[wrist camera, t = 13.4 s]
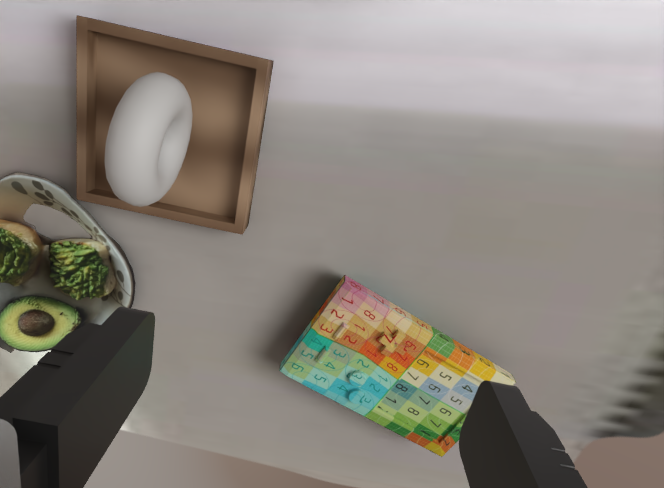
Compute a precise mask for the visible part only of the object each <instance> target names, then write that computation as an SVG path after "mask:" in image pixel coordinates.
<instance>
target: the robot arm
mask: <svg viewBox="0 0 664 488" xmlns="http://www.w3.org/2000/svg"><path fill="white" fill-rule="evenodd" d="M154 327H155V316H154V313H152V312H147V311H142V310H137V309H132V308H127V307H122V306H121V307H118V308H117V309H116V310H115V311H114V312H113V313H112V314H111V315H110V316H109V317H108V318H107V319H106V320H105V321H104V322H103V323H102V325H99V324H94V323H89V324H87V325H85V326H83V327H80V328H78V329H76V330H74V331H72V332H70V333H68V334H67V335H66V336H65V337H64V338H62V339H61V340H60V341H59V342H58V343H57V344H56V345H55V346H54V347H53V348H52V349H51V352H48V353H47V354H46V355H45V356H44V357H42V358H41V359H40V360H39V361H38V364H37V365H34V366H33V367H32V368H31V369H30V370H29V371H28V372H27V373H26V374H25V375H23V376H22V377H21V378H20V379H19V380H18V381H17V382H16V383H15V384H14V385H13V386H12V387H11V388H10V389H9V390H8V391H7V392H6V393H5V394H3V395H2V396H1V397H0V488H83V487H84V485H85V484H86V482H87V481H88V479H89V477H90V476H91V474H92V472H93V471H94V469H95V468H96V466H97V465H98V463H99V461H100V460H101V458H102V457H103V455H104V454H105V452H106V450H107V448H108V447H109V445H110V444H111V442H112V441H113V439H114V438H115V436H116V434H117V433H118V431H119V430H120V428H121V426H122V425H123V423H124V422H125V420H126V419H127V417H128V415H129V414H130V412H131V411H132V409H133V407H134V406H135V404H136V403H137V401H138V399H139V398H140V396H141V395H142V393H143V391H144V389H145V387H146V385H147V382H148V379H149V376H150V372H151V366H152V353H153V340H154ZM459 450H460V455H461V459H462V462H463V465H464V469H465V472H466V476H467V479H468V482H469V486H470V488H587V486H586V484H585V483H584V481H583V479H582V477H581V476H580V474H579V472H578V471H577V470H575V468H574V467H575V466H574V464H573V462H572V460H571V458H570V457H569V455H568V454H567V453H565V448H564V446H563V445H562V443H561V441H560V439H559V438H558V436H557V434H556V433H555V431H554V430H553V429H552V427H551V426H550V425H549V424H548V423H547V422H546V421H545V420H544V419H543V418H542V417H541V416H540V415H539V414H538V413H537V412H534V411H531V410H530V408H529V406H528V404H527V403H526V401H525V399H524V397H523V395H522V393H521V392H520V390H519V389H518V388H517V387H516V386H512V385H507V384H502V383H497V382H492V381H487V380H485V381H483V382H482V383H481V384H480V385H479V387H478V390H477V392H476V394H475V397H474V399H473V401H472V404H471V406H470V408H469V411H468V413H467V415H466V418H465V420H464V423H463V425H462V428H461V431H460V437H459Z"/></svg>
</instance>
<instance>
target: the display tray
mask: <svg viewBox="0 0 664 488" xmlns="http://www.w3.org/2000/svg"><path fill="white" fill-rule="evenodd" d="M272 68H273V61H272V60H268V59H263V58H259V57H255V56H251V55H246V54H242V53H238V52H233V51H229V50H225V49H221V48H216V47H212V46H208V45H203V44H199V43H195V42H191V41H186V40H182V39H178V38H173V37H169V36H165V35H161V34H156V33H152V32H148V31H143V30H139V29H135V28H131V27H126V26H122V25H118V24H113V23H109V22H105V21H101V20H96V19H92V18H87V17H82V16H77V200H82V201H86V202H91V203H96V204H101V205H105V206H110V207H115V208H120V209H124V210H129V211H134V212H138V213H143V214H148V215H153V216H157V217H162V218H167V219H171V220H176V221H181V222H186V223H190V224H195V225H200V226H205V227H209V228H214V229H219V230H223V231H228V232H233V233H238V234H243V233H244V231H245V229H246V228H247V226H248V223H249V216H250V210H251V203H252V197H253V190H254V184H255V178H256V171H257V165H258V158H259V152H260V145H261V139H262V132H263V126H264V119H265V113H266V106H267V100H268V93H269V87H270V81H271V74H272ZM155 72H160V73H165V74H168V75H170V76H172V77H174V78H176V79H178V80H179V81H180V82H181V83H182V84H183V85H184V86H185V88H186V90H187V92H188V94H189V97H190V99H191V105H192V129H191V134H190V140H189V144H188V148H187V152H186V155H185V158H184V161H183V164H182V167H181V169H180V171H179V173H178V176H177V178H176V180H175V182H174V183H173V185H172V186H171V188H170V190H169V191H168V192H167V193H166V194H165V195H164V196H163V197H162V198H161V199H160V200H159V201H157V202H155V203H153V204H150V205H148V206H141V207H139V206H133V205H131V204H129V203H127V202H125V201H123V200H121V199H119V198H118V197H117V196H116V195H115V194H114V192H113V190H112V188H111V186H110V184H109V182H108V180H107V178H106V170H105V147H106V139H107V135H108V130H109V126H110V123H111V120H112V118H113V115H114V112H115V110H116V107H117V106H118V104H119V102H120V100H121V99H122V97H123V95H124V93H125V92H126V90H127V89H128V88H129V87H130V86H131V85H132V84H133V83H134V82H135V81H136V80H137V79H139V78H140V77H142V76H145V75H147V74H150V73H155Z"/></svg>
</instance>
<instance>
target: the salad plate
mask: <svg viewBox="0 0 664 488" xmlns="http://www.w3.org/2000/svg"><path fill="white" fill-rule="evenodd" d="M33 203H35V204H40V205H45V206H49V207H52V208H53V209H56V210H59V211H61V212H63V213H65V214H66V215H68V216H70V217H71V218H72V219H74V220H75V221H77V222H78V223H79V224H80V225H81V226H82V227H83V228H84V229H85V230H86V231H87V232H88V233H89V234H90V235H91V237H92V239H84V238H82V239H64V240H51V239H49V238H47V237H45V236H43V235H41V234H39V233H38V232H37V231H36V229H35V226H33V225H31V224H29V223H27V222H25V221H24V219H23V216H24V214H25V212H26V210H27V209H28V208H29V207H30V206H31V205H32V204H33ZM134 293H135V280H134V273H133V270H132V267H131V265H130V264H129V261H128V259H127V257H126V255H125V253H124V251H123V250H122V248H121V247H120V246H119V244H118V243H117V242H116V241H115V240H113V239H112V238H110V237H109V236H108V235H107V234H106V233H105V231H104V230H103V229H102V228H101V227H100V226H99V224H98V223H97V222H96V221H95V219H94V218H93V217H92V216H91V214H90V213H89V212H88V211H87V210H86V209H85V208H83V207H82V206H81V205H80V204H79V203H78V202H77V201H75V200H74V199H73V198H72V197H71V196H70V195H69V193H68V192H67V191H66V190H65V189H64V188H62V187H61V186H59V185H57V184H55V183H53V182H51V181H49V180H47V179H46V178H43V177H38V176H35V175H29V174H25V173H19V172H16V173H13V174H10V175H7V176H5V177H4V178H3V179H1V180H0V347H1V348H2V349H5V350H7V351H8V352H10V353H11V352H12V351H14V349H17V350H19V351H28V352H41V351H47V350H51V349H52V348H53V347H54V346H55V345H56V344H57V343H58V342H59V341H60V340H61V339H62V338H64V337H65V336H66V335H67V334H68V333H70V332H72V331H74V330H76V329H78V328H80V327H83V326H85V325H87V324H89V323H94V324H99V325H102V323H103V322H104V321H105V320H106V319H107V318H108V317H109V316H110V315H111V314H112V313H113V312H114V311H115V310H116V309H117V308H118V307H121V306H122V307H127V308H131V307H132V304H133V301H134Z"/></svg>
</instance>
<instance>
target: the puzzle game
mask: <svg viewBox="0 0 664 488" xmlns="http://www.w3.org/2000/svg"><path fill="white" fill-rule="evenodd" d="M279 371H281V372H282V373H283V374H285V375H286V376H288V377H290V378H292V379H293V380H295V381H297V382H299V383H301V384H303V385H305V386H307V387H309V388H311V389H313V390H315V391H316V392H318V393H320V394H322V395H324V396H326V397H328V398H330V399H332V400H334V401H336V402H338V403H340V404H341V405H343V406H345V407H347V408H349V409H351V410H353V411H355V412H357V413H359V414H361V415H363V416H364V417H366V418H368V419H370V420H372V421H374V422H376V423H378V424H380V425H382V426H384V427H386V428H387V429H389V430H391V431H393V432H395V433H397V434H399V435H401V436H403V437H405V438H407V439H409V440H411V441H412V442H414V443H416V444H418V445H420V446H422V447H424V448H426V449H428V450H430V451H432V452H434V453H435V454H437V455H439V456H441V457H442V456H443V455H444V454H445V453H446V452H447V451H448V450H449V449H450V448H451V447H452V446H453V445H454V444H455V443H456V442H457V441H458V440H459V437H460V431H461V428H462V425H463V423H464V420H465V418H466V415H467V413H468V411H469V408H470V406H471V404H472V401H473V399H474V397H475V394H476V392H477V390H478V387H479V385H480V384H481V383H482V382H483V381H485V380H487V381H492V382H497V383H502V384H507V385H512V386H513V385H514V384H515V383H516V381H515V379H514V377H513V375H511V374H510V373H509V372H507V371H506V370H504V369H502V368H501V367H499V366H497V365H496V364H494V363H492V362H490V361H489V360H487V359H485V358H484V357H482V356H480V355H479V354H477V353H475V352H474V351H472V350H470V349H469V348H467V347H465V346H464V345H462V344H460V343H458V342H457V341H455V340H453V339H452V338H450V337H448V336H447V335H445V334H443V333H442V332H440V331H438V330H437V329H435V328H433V327H432V326H430V325H428V324H426V323H425V322H423V321H421V320H420V319H418V318H416V317H415V316H413V315H411V314H410V313H408V312H406V311H405V310H403V309H401V308H400V307H398V306H396V305H394V304H393V303H391V302H389V301H388V300H386V299H384V298H383V297H381V296H379V295H378V294H376V293H374V292H373V291H371V290H369V289H368V288H366V287H364V286H362V285H361V284H359V283H357V282H356V281H354V280H352V279H351V278H349V277H347V276H346V275H344V276H343V278H342V279H341V281H340V282H339V283H338V285H337V286H336V287H335V289H334V290H333V292H332V293H331V294H330V296H329V297H328V299H327V300H326V301H325V303H324V304H323V305H322V307H321V308H320V310H319V311H318V312H317V314H316V315H315V317H314V318H313V319H312V321H311V322H310V323H309V325H308V326H307V328H306V329H305V330H304V332H303V333H302V334H301V336H300V337H299V339H298V340H297V341H296V343H295V344H294V346H293V347H292V348H291V350H290V351H289V352H288V354H287V355H286V357H285V358H284V359H283V361H282V362H281V365H280V370H279Z"/></svg>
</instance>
